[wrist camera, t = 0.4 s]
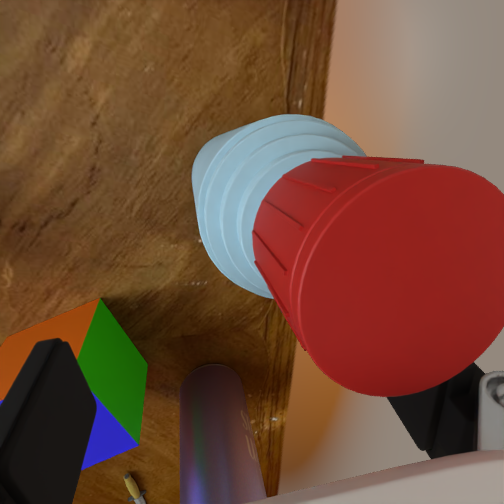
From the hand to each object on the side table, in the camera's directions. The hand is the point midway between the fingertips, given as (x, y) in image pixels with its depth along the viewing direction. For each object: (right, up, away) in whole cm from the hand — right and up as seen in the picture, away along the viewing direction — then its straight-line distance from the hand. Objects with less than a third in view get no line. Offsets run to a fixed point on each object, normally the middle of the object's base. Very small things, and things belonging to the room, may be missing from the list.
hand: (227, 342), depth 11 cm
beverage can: (-3, -10, +23) cm, 25 cm away
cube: (-14, -5, +19) cm, 24 cm away
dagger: (-12, -25, +28) cm, 40 cm away
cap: (+3, +3, -2) cm, 5 cm away
